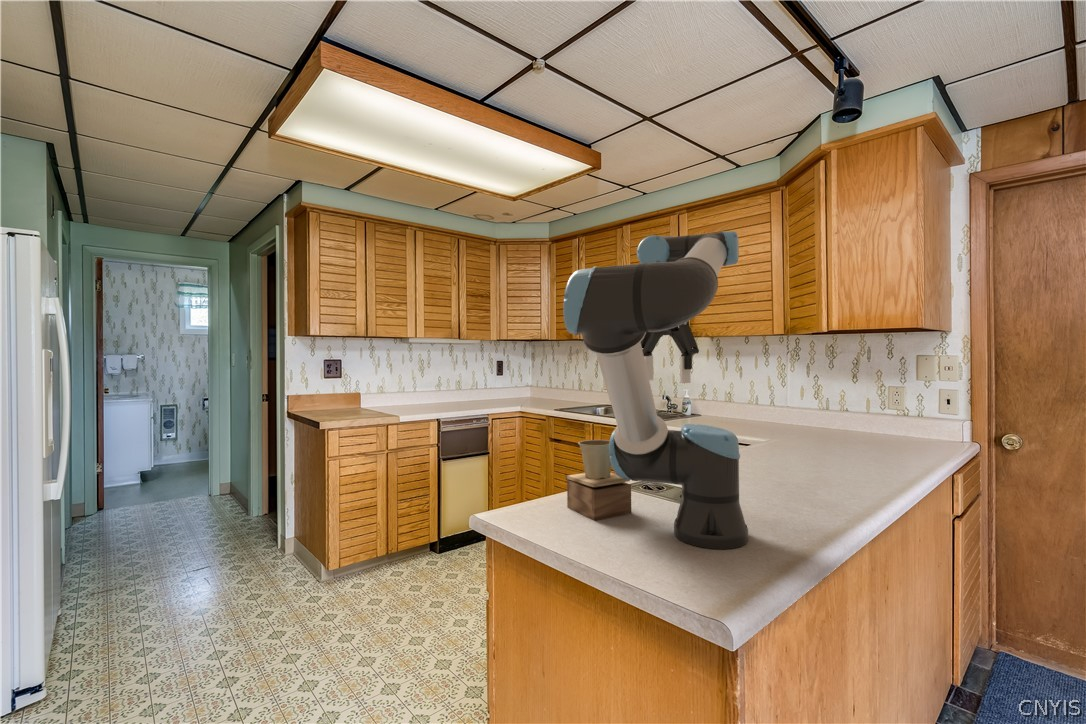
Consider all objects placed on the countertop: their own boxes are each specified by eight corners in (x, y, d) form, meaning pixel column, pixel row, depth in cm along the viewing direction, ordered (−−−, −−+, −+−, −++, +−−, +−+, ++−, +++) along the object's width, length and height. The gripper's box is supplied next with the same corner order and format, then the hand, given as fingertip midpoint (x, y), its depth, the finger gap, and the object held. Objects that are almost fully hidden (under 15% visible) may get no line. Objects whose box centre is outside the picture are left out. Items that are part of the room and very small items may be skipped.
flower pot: (616, 472, 133) (615, 439, 133) (618, 480, 124) (616, 444, 124) (579, 473, 134) (578, 439, 134) (578, 481, 125) (577, 445, 125)
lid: (630, 482, 126) (629, 477, 126) (593, 489, 121) (593, 483, 121) (600, 474, 137) (599, 469, 137) (565, 479, 132) (565, 475, 132)
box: (631, 512, 126) (631, 484, 126) (594, 520, 121) (594, 491, 121) (602, 500, 137) (602, 474, 137) (567, 507, 131) (567, 480, 131)
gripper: (713, 294, 123) (714, 383, 123) (644, 303, 145) (645, 378, 145) (690, 293, 119) (691, 384, 120) (623, 302, 141) (624, 379, 142)
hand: (666, 381), depth 132 cm, fingers open, 13 cm apart
